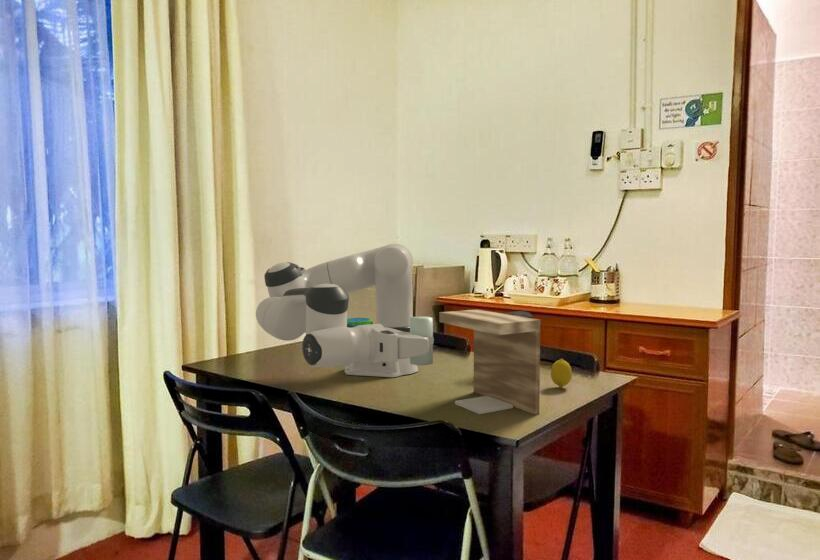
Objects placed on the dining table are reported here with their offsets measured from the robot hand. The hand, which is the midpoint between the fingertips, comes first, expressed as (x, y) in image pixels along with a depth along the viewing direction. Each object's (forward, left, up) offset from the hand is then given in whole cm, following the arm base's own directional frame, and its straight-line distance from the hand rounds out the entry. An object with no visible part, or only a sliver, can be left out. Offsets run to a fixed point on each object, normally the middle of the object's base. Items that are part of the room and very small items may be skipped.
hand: (424, 337), depth 148 cm
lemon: (+36, +19, -17) cm, 44 cm away
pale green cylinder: (-1, -1, -6) cm, 6 cm away
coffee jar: (+26, +38, -17) cm, 49 cm away
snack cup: (-29, +80, -17) cm, 87 cm away
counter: (+15, +1, -17) cm, 23 cm away
